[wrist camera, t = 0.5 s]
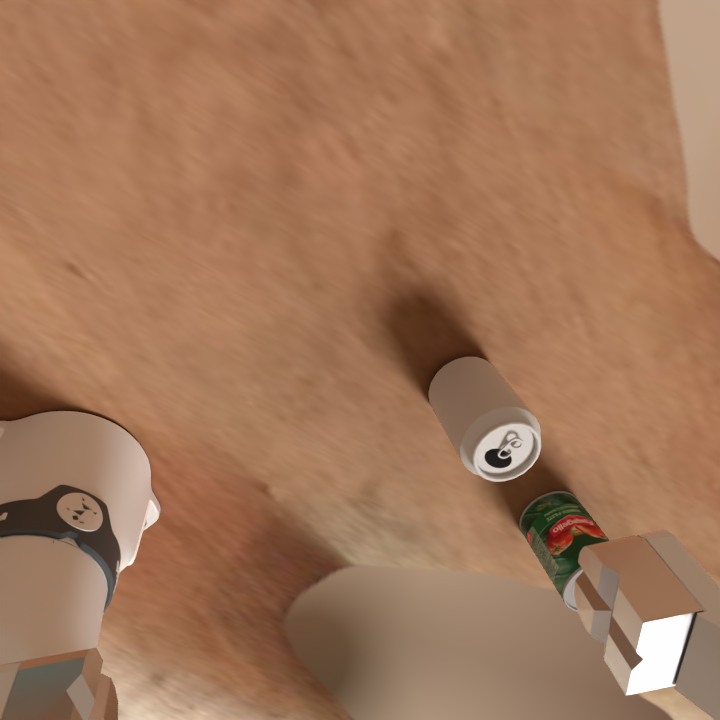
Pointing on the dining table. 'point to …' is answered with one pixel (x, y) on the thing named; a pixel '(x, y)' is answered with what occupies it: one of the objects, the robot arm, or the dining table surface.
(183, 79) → the dining table surface
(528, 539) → the canned tomato
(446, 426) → the can
